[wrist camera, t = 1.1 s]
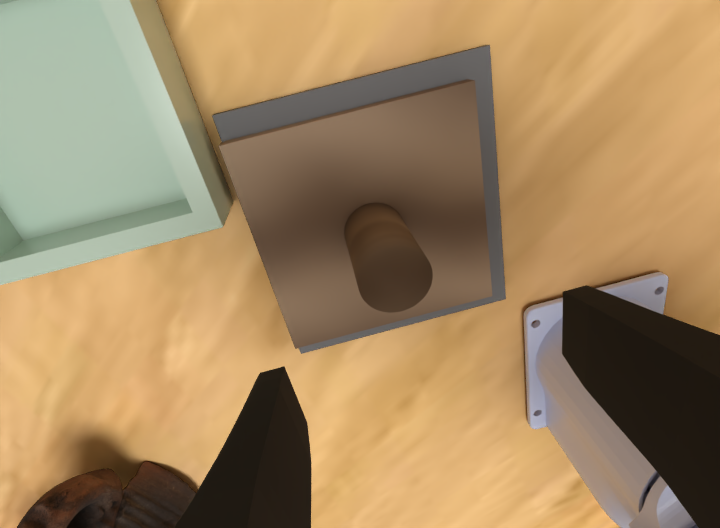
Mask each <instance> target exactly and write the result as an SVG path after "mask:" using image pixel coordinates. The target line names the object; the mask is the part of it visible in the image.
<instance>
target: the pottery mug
mask: <svg viewBox="0 0 720 528" xmlns="http://www.w3.org/2000/svg"><path fill="white" fill-rule="evenodd" d="M195 494H196V492H194V491H193V490H192V489H191V488H190V487H189V486H188V484H187V483H186V482H184V481H182V480H180V479H179V478H178V477H177V476H176V475H173V474H172V473H171V472H169V471H167V470H165V469H163V468H161V467H159V466H157V465H155V464H153V463H150V462H148V461H145V462H143V464H142V465H141V466H140V468H139V470H138V472H137V474H136V476H135V477H134V478H132V479H131V481H130V482H129V484H128V486H127V487H126V488H125V489H124V490H122V485H121V482H120V479H119V477H118V475H117V474H116V473H115V472H114V471H113V470H111V469H100V470H95V471H92V472H88V473H86V474H82V475H78V476H76V477H73V478H71V479H69V480H67V481H65V482H63V483H61V484H59V485H57V486H55V487H54V488H52V489H51V490H50V491H48V492H47V493H45V494H44V495H43V496H42V497H41V498H40V499H39V500H38V501H37V502H36V503H35V504H34V505H33V506H32V507H31V508H30V509H29V511H28V512H27V513H26V515H25V516H24V517H23V519H22V520H21V522H20V523H19V525H18V526H17V528H174V526H175V525H176V523H177V522H178V520H179V519H180V517H181V516H182V514H183V513H184V511H185V510H186V508H187V507H188V505H189V504H190V502H191V500H192V499H193V497H194V496H195Z"/></svg>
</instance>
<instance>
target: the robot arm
mask: <svg viewBox="0 0 720 528" xmlns="http://www.w3.org/2000/svg"><path fill="white" fill-rule="evenodd" d="M667 286H668V276H667V275H665V274H663V273H661V272H656V273H652V274H648V275H644V276H641V277H637V278H633V279H629V280H626V281H622V282H618V283H614V284H611V285H607V286H603V287H600V288H596V289H595V288H592V287H589V286H583V287H579V288H575V289H572V290H568V291H564V292H563V297H562V298H559V299H555V300H551V301H547V302H544V303H540V304H536V305H532V306H530V307H528V308H527V309H526V310H525V312H524V339H525V364H526V390H527V416H528V424H529V425H530V427H531V428H532V429H539V428H543V427H546V426H547V427H548V429H549V430H550V432H551V433H552V435H553V436H554V438H555V439H556V441H557V442H558V444H559V445H560V446H561V448H562V449H563V451H564V452H565V454H566V455H567V457H568V458H569V460H570V461H571V463H572V464H573V466H574V467H575V469H576V470H577V472H578V473H579V475H580V476H581V478H582V479H583V481H584V482H585V484H586V485H587V487H588V488H589V490H590V491H591V493H592V494H593V496H594V497H595V499H596V500H597V502H598V503H599V505H600V506H601V508H602V509H603V510H604V511H605V512H606V514H607V515H608V516H609V517H610V518H611V519H612V520H613V521H614V522H615V523H616V524H618V525H619V526H620V527H621V528H720V335H718V334H715V333H712V332H709V331H706V330H703V329H701V328H698V327H695V326H692V325H689V324H687V323H684V322H681V321H679V320H676V319H673V318H671V317H668V316H665V315H663V312H664V305H665V299H666V293H667ZM535 320H536V322H535V323H533V324H532V322H533V321H535ZM174 528H311V454H310V444H309V435H308V426H307V421H306V419H305V416H304V414H303V411H302V409H301V407H300V404H299V402H298V399H297V397H296V394H295V392H294V389H293V387H292V384H291V382H290V379H289V377H288V375H287V372H286V370H285V367H281V368H277V369H273V370H269V371H266V372H262V373H260V374H259V376H258V377H257V380H256V382H255V384H254V386H253V388H252V390H251V392H250V394H249V396H248V398H247V401H246V403H245V405H244V407H243V409H242V411H241V413H240V415H239V417H238V419H237V421H236V423H235V425H234V427H233V429H232V431H231V432H230V434H229V436H228V438H227V440H226V442H225V444H224V446H223V448H222V450H221V451H220V453H219V455H218V457H217V459H216V460H215V462H214V464H213V465H212V467H211V469H210V471H209V472H208V474H207V476H206V477H205V479H204V481H203V483H202V484H201V486H200V488H199V489H198V491H197V493H196V494H195V496H194V497H193V499H192V500H191V502H190V504H189V505H188V507H187V508H186V510H185V511H184V513H183V514H182V516H181V517H180V519H179V520H178V522H177V523H176V525H175V526H174Z"/></svg>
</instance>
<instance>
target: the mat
mask: <svg viewBox="0 0 720 528" xmlns="http://www.w3.org/2000/svg"><path fill="white" fill-rule="evenodd" d="M466 79H469V80H475V86H476V99H477V111H478V124H479V136H480V148H481V161H482V173H483V186H484V198H485V210H486V223H487V235H488V248H489V260H490V272H491V285H492V296H491V297H487V298H484V299H480V300H476V301H472V302H469V303H465V304H461V305H457V306H454V307H450V308H446V309H442V310H439V311H435V312H431V313H427V314H424V315H420V316H416V317H412V318H409V319H405V320H401V321H397V322H394V323H390V324H386V325H382V326H379V327H375V328H371V329H368V330H364V331H360V332H356V333H353V334H349V335H345V336H341V337H338V338H334V339H330V340H326V341H323V342H319V343H315V344H311V345H308V346H304V347H300V348H299V350H300V352H301V354H302V353H306V352H309V351H313V350H317V349H320V348H324V347H328V346H332V345H335V344H339V343H343V342H347V341H350V340H354V339H358V338H362V337H365V336H369V335H373V334H377V333H380V332H384V331H388V330H392V329H395V328H399V327H403V326H407V325H410V324H414V323H418V322H421V321H425V320H429V319H433V318H436V317H440V316H444V315H448V314H451V313H455V312H459V311H463V310H466V309H470V308H474V307H478V306H481V305H485V304H489V303H493V302H496V301H500V300H504V299H506V296H505V280H504V264H503V248H502V232H501V216H500V200H499V184H498V168H497V152H496V136H495V120H494V104H493V88H492V72H491V56H490V45H485V46H481V47H477V48H473V49H469V50H465V51H461V52H458V53H454V54H450V55H446V56H442V57H438V58H434V59H430V60H426V61H422V62H418V63H414V64H410V65H406V66H402V67H398V68H395V69H391V70H387V71H383V72H379V73H375V74H371V75H367V76H363V77H359V78H355V79H351V80H347V81H343V82H339V83H335V84H332V85H328V86H324V87H320V88H316V89H312V90H308V91H304V92H300V93H296V94H292V95H288V96H284V97H280V98H276V99H272V100H269V101H265V102H261V103H257V104H253V105H249V106H245V107H241V108H237V109H233V110H229V111H225V112H221V113H217V114H214V115H213V116H212V117H213V119H214V122H215V125H216V127H217V130H218V133H219V135H220V138H221V141H222V142H223V141H227V140H231V139H235V138H239V137H243V136H247V135H251V134H255V133H259V132H263V131H266V130H270V129H274V128H278V127H282V126H286V125H290V124H294V123H298V122H302V121H306V120H310V119H313V118H317V117H321V116H325V115H329V114H333V113H337V112H341V111H345V110H349V109H353V108H356V107H360V106H364V105H368V104H372V103H376V102H380V101H384V100H388V99H392V98H396V97H400V96H403V95H407V94H411V93H415V92H419V91H423V90H427V89H431V88H435V87H439V86H443V85H447V84H450V83H454V82H458V81H462V80H466Z"/></svg>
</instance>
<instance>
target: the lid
mask: <svg viewBox="0 0 720 528" xmlns="http://www.w3.org/2000/svg"><path fill="white" fill-rule="evenodd" d="M219 148H220V151H221V154H222V156H223V159H224V162H225V164H226V167H227V169H228V172H229V175H230V177H231V180H232V183H233V185H234V188H235V191H236V193H237V196H238V198H239V201H240V204H241V206H242V209H243V212H244V214H245V217H246V220H247V222H248V225H249V227H250V230H251V233H252V235H253V238H254V241H255V243H256V246H257V249H258V251H259V254H260V256H261V259H262V262H263V264H264V267H265V270H266V272H267V275H268V278H269V280H270V283H271V285H272V288H273V291H274V293H275V296H276V299H277V301H278V304H279V307H280V309H281V312H282V315H283V317H284V320H285V322H286V325H287V328H288V330H289V333H290V336H291V338H292V341H293V344H294V346H295V349H296V348H300V347H304V346H308V345H311V344H315V343H319V342H323V341H326V340H330V339H334V338H338V337H341V336H345V335H349V334H353V333H356V332H360V331H364V330H368V329H371V328H375V327H379V326H382V325H386V324H390V323H394V322H397V321H401V320H405V319H409V318H412V317H416V316H420V315H424V314H427V313H431V312H435V311H439V310H442V309H446V308H450V307H454V306H457V305H461V304H465V303H469V302H472V301H476V300H480V299H484V298H487V297H491V296H492V285H491V272H490V260H489V248H488V235H487V223H486V210H485V198H484V186H483V173H482V161H481V148H480V136H479V124H478V111H477V99H476V86H475V80H469V79H466V80H462V81H458V82H454V83H450V84H447V85H443V86H439V87H435V88H431V89H427V90H423V91H419V92H415V93H411V94H407V95H403V96H400V97H396V98H392V99H388V100H384V101H380V102H376V103H372V104H368V105H364V106H360V107H356V108H353V109H349V110H345V111H341V112H337V113H333V114H329V115H325V116H321V117H317V118H313V119H310V120H306V121H302V122H298V123H294V124H290V125H286V126H282V127H278V128H274V129H270V130H266V131H263V132H259V133H255V134H251V135H247V136H243V137H239V138H235V139H231V140H227V141H223V142H221V144H220V145H219Z"/></svg>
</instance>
